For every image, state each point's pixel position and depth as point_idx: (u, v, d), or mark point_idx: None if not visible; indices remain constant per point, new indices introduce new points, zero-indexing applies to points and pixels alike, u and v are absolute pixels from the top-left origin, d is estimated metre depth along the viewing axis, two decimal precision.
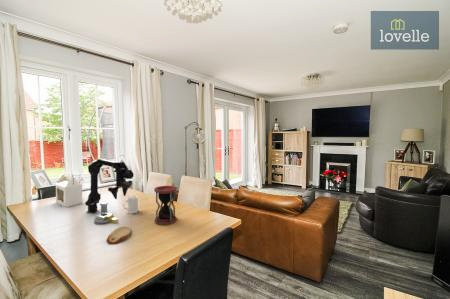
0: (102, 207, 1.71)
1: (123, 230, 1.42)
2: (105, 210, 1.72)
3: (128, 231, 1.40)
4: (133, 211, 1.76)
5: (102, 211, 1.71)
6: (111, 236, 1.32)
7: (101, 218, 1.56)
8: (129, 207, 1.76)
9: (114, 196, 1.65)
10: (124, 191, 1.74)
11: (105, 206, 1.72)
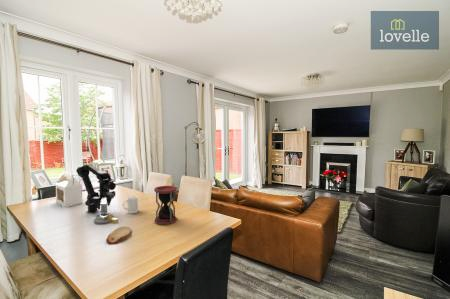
0: (102, 207, 1.71)
1: (123, 230, 1.42)
2: (105, 210, 1.72)
3: (128, 231, 1.40)
4: (133, 211, 1.76)
5: (102, 211, 1.71)
6: (111, 236, 1.32)
7: (101, 218, 1.56)
8: (129, 207, 1.76)
9: (97, 207, 1.67)
10: (108, 201, 1.77)
11: (105, 206, 1.72)
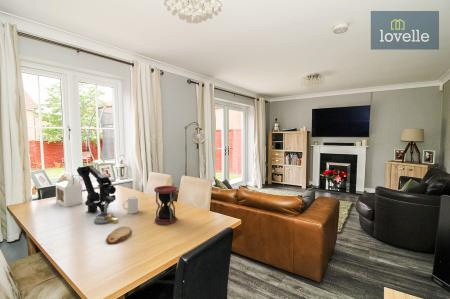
0: None
1: (122, 230, 1.42)
2: (105, 210, 1.72)
3: (128, 231, 1.40)
4: (133, 211, 1.76)
5: None
6: (110, 236, 1.32)
7: (101, 218, 1.56)
8: (129, 207, 1.76)
9: (100, 209, 1.70)
10: None
11: (105, 206, 1.72)
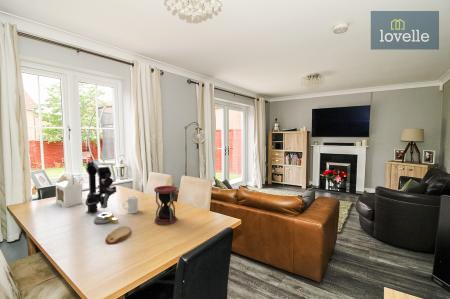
0: None
1: (122, 230, 1.42)
2: (105, 203, 1.59)
3: (127, 231, 1.40)
4: (133, 211, 1.76)
5: None
6: (110, 236, 1.32)
7: (101, 218, 1.56)
8: (129, 207, 1.76)
9: (100, 202, 1.57)
10: None
11: (105, 198, 1.59)
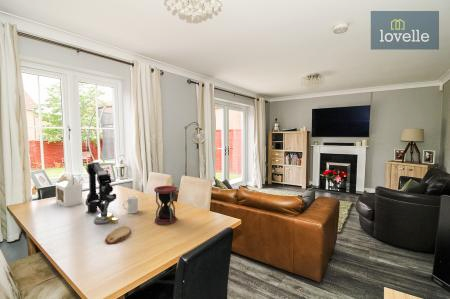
0: None
1: (122, 230, 1.42)
2: (105, 210, 1.59)
3: (127, 231, 1.40)
4: (133, 211, 1.76)
5: None
6: (110, 236, 1.32)
7: (101, 218, 1.56)
8: (129, 207, 1.76)
9: (100, 209, 1.58)
10: None
11: (105, 205, 1.59)
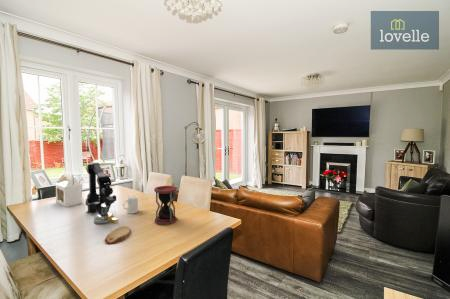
0: (102, 210, 1.59)
1: (122, 230, 1.42)
2: (105, 213, 1.60)
3: (127, 231, 1.40)
4: (133, 211, 1.76)
5: (102, 214, 1.59)
6: (109, 236, 1.32)
7: (101, 218, 1.56)
8: (129, 207, 1.76)
9: (98, 212, 1.56)
10: None
11: (106, 209, 1.59)
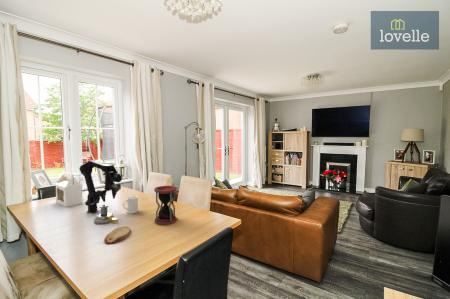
0: (102, 210, 1.58)
1: (122, 230, 1.42)
2: (105, 213, 1.60)
3: (127, 231, 1.40)
4: (133, 211, 1.76)
5: (102, 214, 1.59)
6: (109, 236, 1.32)
7: (101, 218, 1.56)
8: (129, 207, 1.76)
9: (102, 199, 1.66)
10: (113, 194, 1.76)
11: (105, 209, 1.59)
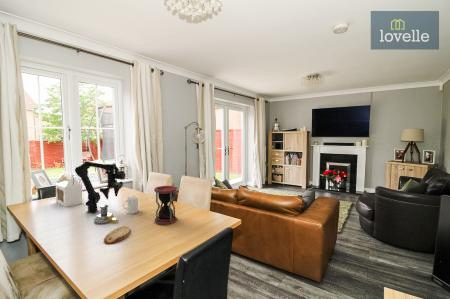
0: (102, 210, 1.58)
1: (122, 230, 1.42)
2: (105, 213, 1.60)
3: (126, 231, 1.40)
4: (133, 211, 1.76)
5: (102, 214, 1.59)
6: (109, 236, 1.32)
7: (101, 218, 1.56)
8: (129, 207, 1.76)
9: (105, 196, 1.72)
10: (116, 192, 1.81)
11: (105, 209, 1.59)
